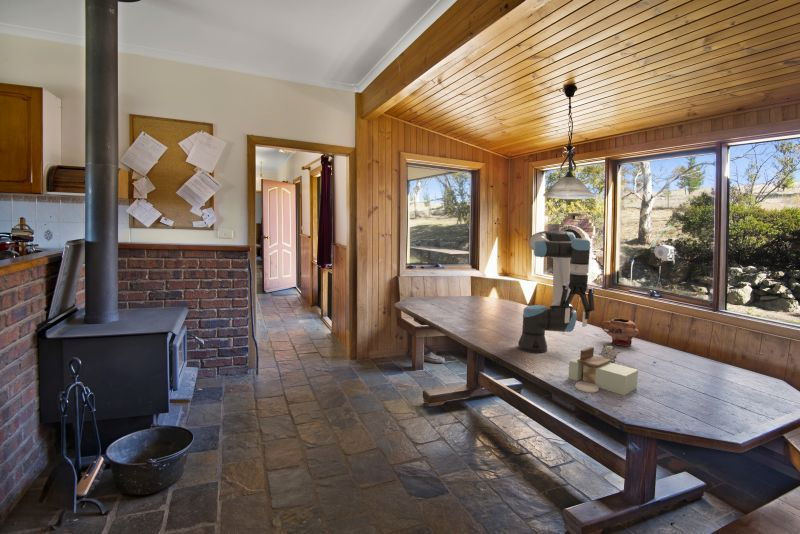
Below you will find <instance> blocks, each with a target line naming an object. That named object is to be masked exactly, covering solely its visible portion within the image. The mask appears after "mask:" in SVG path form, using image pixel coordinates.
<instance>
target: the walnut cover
mask: <svg viewBox="0 0 800 534" xmlns="http://www.w3.org/2000/svg"><path fill="white" fill-rule="evenodd" d="M594 351H595V349H594V347H593V346H590V347H587V348H584V349H582V350H580V355H579V357H580V359H578V360H577V362H579V363H582V364H586V365H590V366H593V367H597V368H598V367H600V366H603V365H605V364H607V363H609V362H610V363H612V360H610V359H606V358H604V357H603V356H599V355H594V353H595V352H594Z"/></svg>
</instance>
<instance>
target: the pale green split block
mask: <svg viewBox="0 0 800 534" xmlns="http://www.w3.org/2000/svg"><path fill="white" fill-rule="evenodd" d="M578 359H580V356H579V357H576V358H573V359H570V360H569V367H568V376H567V377H568V379H570V380H573V381H576V382H579V381H580V380H583V367H584V364H582V363H579V362H577V360H578ZM638 377H639V369H636V368H632V367H629V366H625V365H621V364H617V363H614V362H609V363H607V364H605V365H603V366H600V367H598V368H596V380H595V384H596V385H597V386H599V389H602V390H605V391H609V392H613V393H615V394H619V395H622V396H626V395H628V394H629V393H631V392H633V391H634V390H637V387H638Z"/></svg>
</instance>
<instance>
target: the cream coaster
mask: <svg viewBox="0 0 800 534" xmlns="http://www.w3.org/2000/svg"><path fill="white" fill-rule="evenodd" d="M575 389H576V390H578V391H580V392H583V393H587V394H588V393H589V394H592V393H593V394H595V393H597V392H599V389H600V388H599V386H597V385H596V384H594V383H591V382H587V381H576V383H575Z"/></svg>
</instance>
